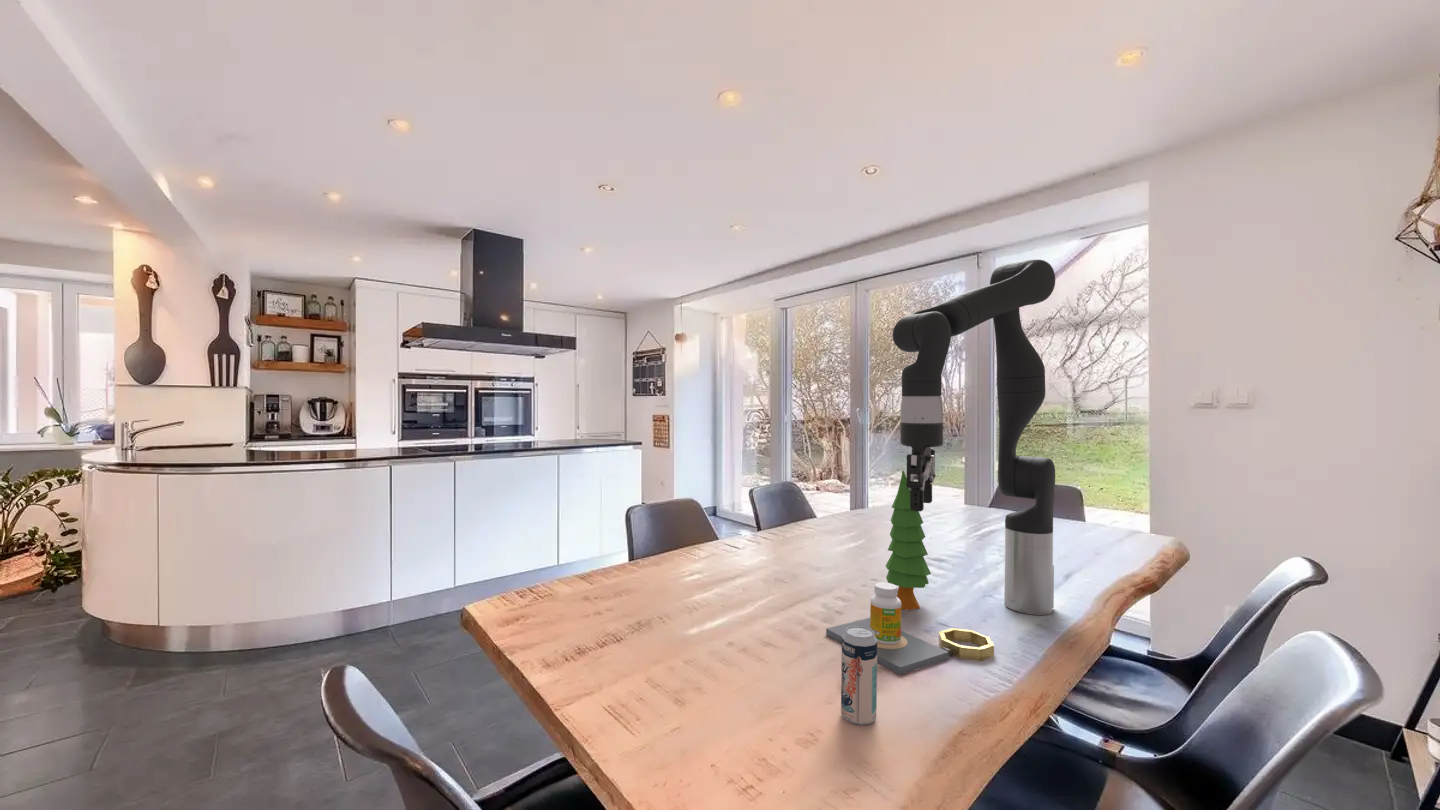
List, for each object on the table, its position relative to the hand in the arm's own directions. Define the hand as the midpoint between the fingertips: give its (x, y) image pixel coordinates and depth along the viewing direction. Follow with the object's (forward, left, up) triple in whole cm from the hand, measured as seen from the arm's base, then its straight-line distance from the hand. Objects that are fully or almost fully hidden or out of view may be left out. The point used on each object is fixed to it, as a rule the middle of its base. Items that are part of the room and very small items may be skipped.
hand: (921, 506), depth 104 cm
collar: (-4, +7, -25) cm, 26 cm away
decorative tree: (-13, -14, -25) cm, 32 cm away
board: (+8, -1, -25) cm, 26 cm away
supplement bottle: (+8, -1, -24) cm, 25 cm away
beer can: (+29, +14, -25) cm, 41 cm away
